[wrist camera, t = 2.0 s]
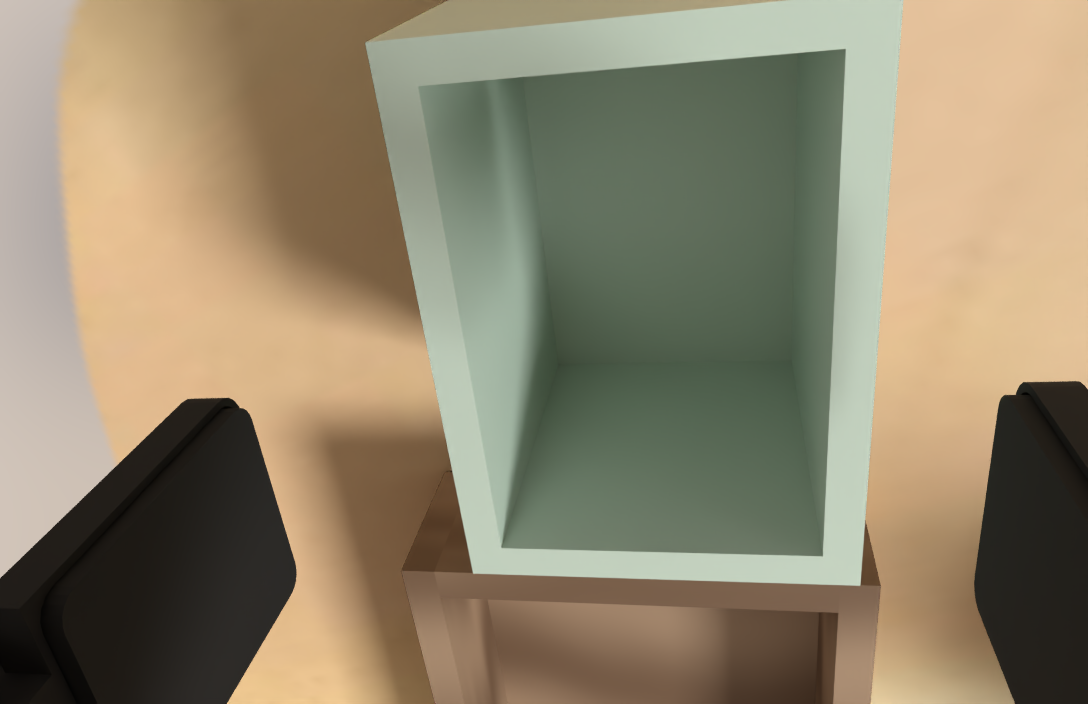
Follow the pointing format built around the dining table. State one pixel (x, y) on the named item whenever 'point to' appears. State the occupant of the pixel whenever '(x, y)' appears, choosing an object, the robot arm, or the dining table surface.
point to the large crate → (631, 632)
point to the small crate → (650, 275)
